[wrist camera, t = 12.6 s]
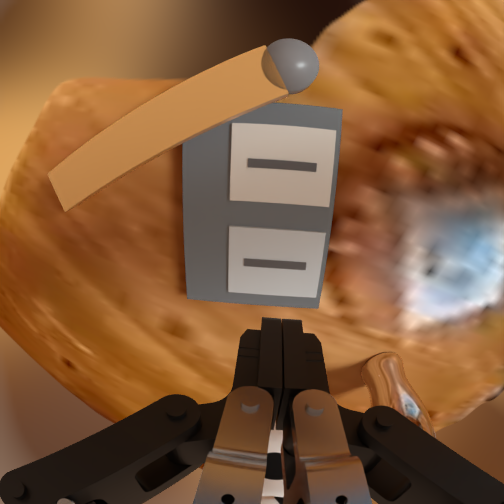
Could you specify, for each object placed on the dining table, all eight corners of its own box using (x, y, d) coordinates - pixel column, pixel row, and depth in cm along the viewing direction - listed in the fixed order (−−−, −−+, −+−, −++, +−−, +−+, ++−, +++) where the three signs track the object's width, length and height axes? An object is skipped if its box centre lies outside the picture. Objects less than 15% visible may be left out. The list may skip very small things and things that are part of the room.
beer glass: (411, 348, 35) (451, 435, 21) (395, 383, 38) (423, 467, 24) (365, 349, 35) (394, 447, 21) (352, 385, 38) (370, 476, 24)
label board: (339, 110, 25) (343, 109, 23) (316, 301, 33) (318, 310, 31) (188, 103, 26) (182, 101, 24) (190, 291, 33) (186, 300, 32)
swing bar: (301, 40, 19) (304, 31, 17) (322, 84, 20) (328, 79, 18) (63, 169, 24) (47, 173, 22) (79, 204, 25) (65, 212, 23)
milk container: (198, 434, 45) (178, 522, 29) (267, 394, 39) (261, 509, 23) (269, 466, 49) (265, 543, 32) (340, 434, 43) (351, 525, 27)
